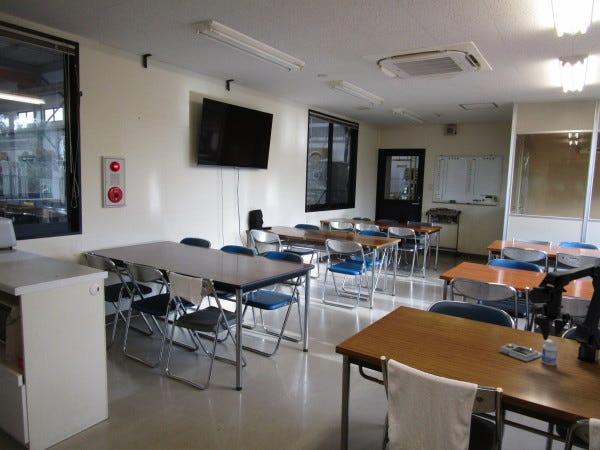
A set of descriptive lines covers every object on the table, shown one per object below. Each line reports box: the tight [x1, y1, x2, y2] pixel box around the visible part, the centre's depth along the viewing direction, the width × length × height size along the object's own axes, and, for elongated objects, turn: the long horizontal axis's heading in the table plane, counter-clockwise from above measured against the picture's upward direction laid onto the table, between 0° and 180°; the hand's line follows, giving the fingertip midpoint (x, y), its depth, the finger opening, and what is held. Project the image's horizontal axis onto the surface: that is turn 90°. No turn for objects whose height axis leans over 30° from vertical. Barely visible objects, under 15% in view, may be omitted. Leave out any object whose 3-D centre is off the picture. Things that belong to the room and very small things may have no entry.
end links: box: [499, 342, 542, 362], centre depth 190 cm, size 12×13×3 cm
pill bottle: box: [541, 338, 558, 366], centre depth 180 cm, size 6×5×10 cm
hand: (551, 338), depth 180 cm, fingers open, 9 cm apart
